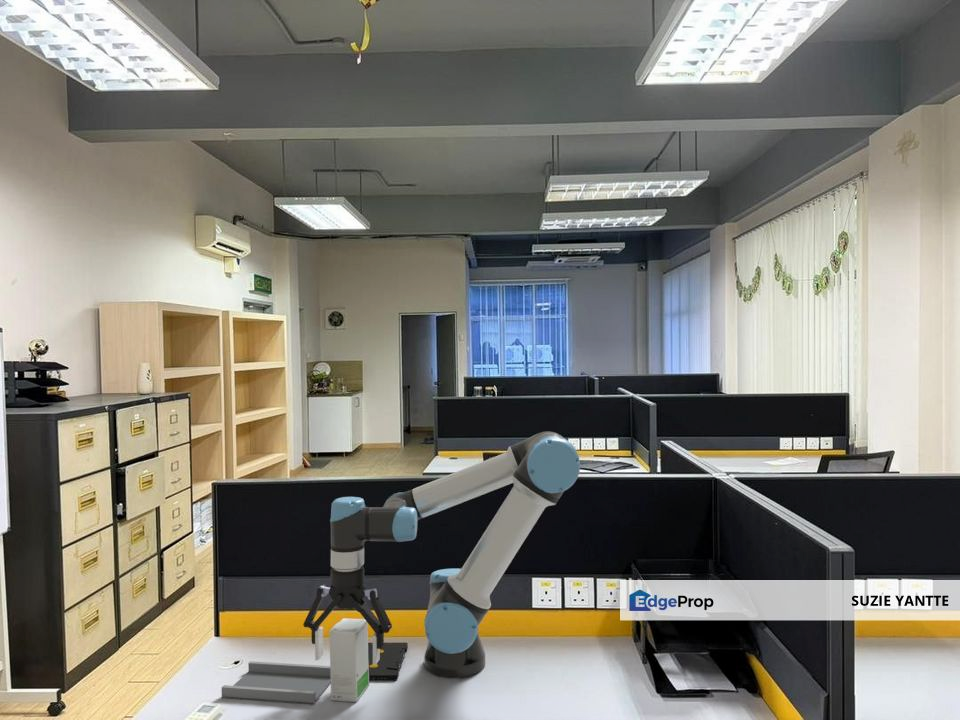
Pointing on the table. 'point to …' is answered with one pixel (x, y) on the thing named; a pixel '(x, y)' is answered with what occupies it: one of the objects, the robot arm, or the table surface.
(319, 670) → the rubber tray
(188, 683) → the table surface
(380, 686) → the table surface
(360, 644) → the skincare box
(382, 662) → the cassette tape
